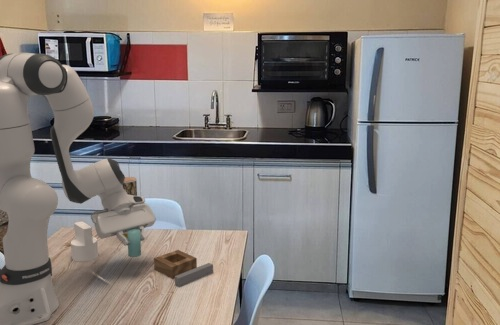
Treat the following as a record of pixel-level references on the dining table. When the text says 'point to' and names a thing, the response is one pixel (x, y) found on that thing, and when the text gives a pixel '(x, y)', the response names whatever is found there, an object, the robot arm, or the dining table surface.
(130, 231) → the teal rounded peg
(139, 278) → the dining table surface
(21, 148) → the robot arm
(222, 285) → the dining table surface
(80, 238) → the base with upright slab
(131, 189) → the wooden log cylinder
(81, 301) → the dining table surface
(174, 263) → the socket block
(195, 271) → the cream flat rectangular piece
